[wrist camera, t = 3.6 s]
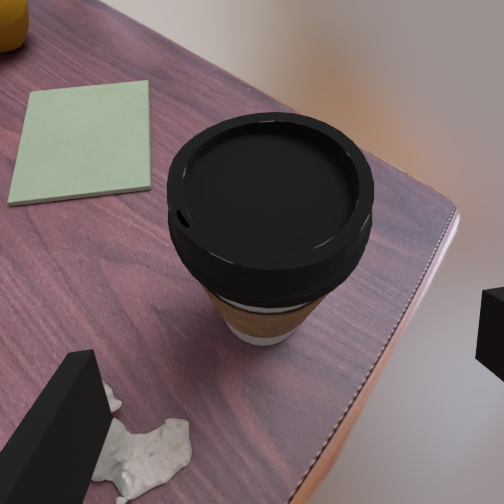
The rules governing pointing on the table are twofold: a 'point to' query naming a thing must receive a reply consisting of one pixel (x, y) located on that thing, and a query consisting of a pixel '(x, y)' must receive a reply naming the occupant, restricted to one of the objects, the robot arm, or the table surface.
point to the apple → (13, 24)
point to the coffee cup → (269, 217)
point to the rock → (141, 455)
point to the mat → (83, 143)
